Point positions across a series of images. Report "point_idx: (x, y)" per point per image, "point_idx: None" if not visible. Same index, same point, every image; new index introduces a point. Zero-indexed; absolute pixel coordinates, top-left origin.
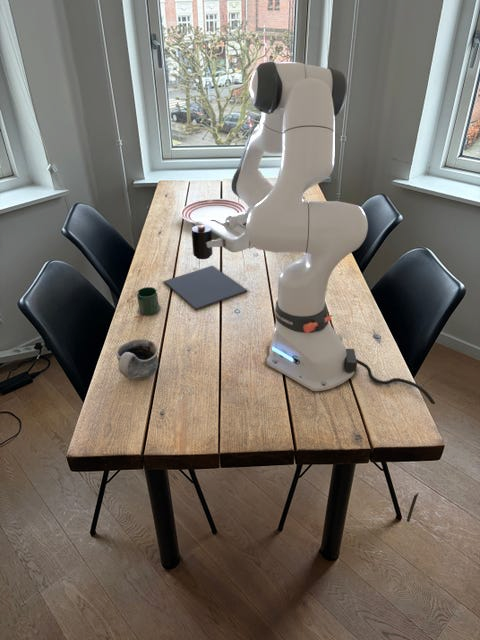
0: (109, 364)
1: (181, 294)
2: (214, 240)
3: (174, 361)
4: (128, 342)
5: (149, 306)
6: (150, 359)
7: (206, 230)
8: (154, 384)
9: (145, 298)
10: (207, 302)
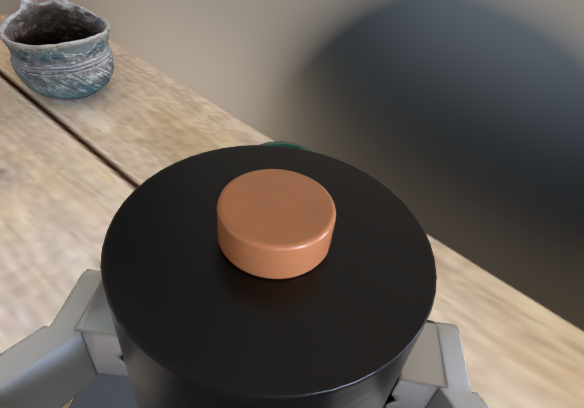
0: (159, 83)
1: None
2: (28, 347)
3: (16, 134)
4: (100, 33)
5: None
6: (2, 23)
7: (155, 239)
8: (17, 87)
9: None
10: (97, 385)
